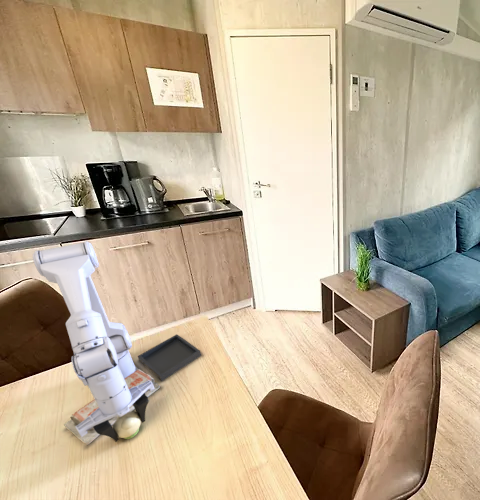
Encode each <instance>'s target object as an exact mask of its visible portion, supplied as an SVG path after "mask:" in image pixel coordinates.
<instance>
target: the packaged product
mask: <svg viewBox="0 0 480 500" xmlns="http://www.w3.org/2000/svg"><path fill="white" fill-rule="evenodd" d="M148 380H150V381H151V382H152V383H153V385H154V388H155V389H154V390H152V391H148V392H146V393H145V395H146V396H147V397H148V398H149V397H150V396H151V395H152V394H154V393H155V392H157V391H158V390H159V389H160V388H161V384H159V383H158V382H157V383H156V382H155V378H153V377H152V375H150V374H148V373H145V372H144V371H143V370H142V369H140V368H138V370H137V371H135V372H134V373H132V374H131V375H129V376H128V377H126V378H125V382H126V384H127V386H128V388H129V389H131V388H133V387H135V386H138V385H140V384H143V383H145V382H146V381H148ZM98 408H99V406H98V405H97V403H96V401H95V399H94V398H93V400H91V401H90V402H88V403H86V404H85V405H84V406H83V407H80V408H79V409H78V410H76V411H74V413H72V414H71V415H70V420H68V421H67V422H65V423H63V426H64V427H65V428H66V430H68V431H69V432H70V433H72V434H73V435H74V436H75V437H76V438H77V440H79V441H80V442H81V443H83V444H85V445H86V446H89V445H90V444H91V443H92V442H93V441H94V440H96V438H98V437H99V436H101V435H100V434H98V433H97V432H96V431H95V429H94V428H91V429H90V430H88V431H87V432H88V433H87V434H86V435H84V436H83V437H81V436H80V434H79V432H78V431H77V429H76V427H75V426H77V425H78V424H80V423H81V422H82V421H84V420H85V419H86V418H87V417H88V416H90V415H91V414H92V413H93V412H94V411H95V410H96V409H98ZM129 409H130V410H129V412H130V411H135V408H134V406H133V404H132V405H131V406H130V407H129ZM117 417H118V416H115V417H113V418H111V419H109V420H108V421H109V423H110V424H111V425H112V426H113V424H114V423H115V421H116V419H117Z"/></svg>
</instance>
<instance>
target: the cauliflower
mask: <svg viewBox="0 0 480 500" xmlns="http://www.w3.org/2000/svg"><path fill="white" fill-rule="evenodd" d="M141 424H142V422H141V419H140V417H139V415H138V413H137V412H136V411H135V410H132V411H130V412H127V413H126V414H125V415H123V416H121V417H119V416H118V417H117V419H116V421H115V423H114V424H113V425H112V427H113V430H114V432H115V434H116V435H117V436H118V438H119V439H124V440H130V439H132V438H134V437H135V436H137V434H139V431H140V427H141Z"/></svg>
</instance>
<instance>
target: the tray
mask: <svg viewBox="0 0 480 500" xmlns="http://www.w3.org/2000/svg"><path fill="white" fill-rule="evenodd" d="M201 356H202V352H201V350H200V349H199V348H197V347H196V346H194V345H193V344H192V343H190V342H188V341H187V340H186V339H184V338H183V337H182V336H180V335H179V334H175V335H173V336H170V337H169V338H167V339H166V340H164V341H162V342H160V343H158V344H157V345H155V346H153V347H151V348H150V349H148V350H145V351H144V352H143V353H140V354H138V355H137V358H138V361H139V362H140V363H141V364H142V365H143V366H144V367H146V369H148V371H150V372H151V373H152V375H154V376H155V377H156V378H157V379H158V380H159V381H160V382H164V381H165V380H166V379H169V377H171V376H172V375H174V374H175V373H177V372H178V371H180V370H182V369H183V368H184V367H186V366H187V365H189V364H191V363H192V362H195V360H197V359H198V358H200V357H201Z"/></svg>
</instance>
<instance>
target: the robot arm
mask: <svg viewBox="0 0 480 500" xmlns="http://www.w3.org/2000/svg"><path fill="white" fill-rule="evenodd" d="M32 261H33V264H34V266H35V268H36V270H37V273H38V274H39V275H40V276H42V277H44V278H45V279H46V280H47V281H48V282H49V283H53V284H57V286H58V288H59V290H60V293H61V296H62V297H63V300H64V302H65V305H66V307H67V309H68V311H69V313H70V316H69V317H68V319H67V320H66V322H65V328H66V330H67V331H66V332H67V334H68V336H69V341H70V344H71V349H72V351H73V355H72V356H71V366H72V369H73V371H74V373H75V375H76V377H77V378H78V379H79V381H81V382H82V384H83V385H84V386H86V387H88V389H89V392H90V394H91V395H92V397H93V400H94V399H95V401H96V403H97V405H98V406H99V408H98V409H96V410H95V411H94V412H93V413H92V414H91V415H90V416H88V417H87V418H86V419H85V420H84V421H82V422H81V423H80V424H78V425H77V426H75V427H76V429H77V431H78V432H79V434H80V436H81V437H83V436H84V435H86V434H87V433H88V432H87V431H88V430H90V429H91V428H94V429H95V431H96V432H97V433H98V434H100V435H99V436H106V437H109V438H110V439H112V440H113V441H114V442H115V443H118V442H119V441H120V437H118V436H117V435H116V434H115V432H114V430H113V425H111V424H110V423H109V421H108V420H109V419H111V418H113V417H115V416H119V417H121V416H123V415H125V414H126V413H127V412H129V410H130V409H129V407H130V406H131V405H132V404H133V406H134V408H135V409H134V411H136V412H137V413H138V415H139V417H140V419H141V424H144V423H145V422H146V410H147V406H148V404H149V396H148V397H147V396H146V395H145V393H146V392H148V391H152V390H154V389H155V388H154V385H153V383H152V382H151V381H150V380H148V381H146V382H145V383H143V384H140V385H138V386H135V387H133V388H131V389H129V388H128V386H127V384H126V382H125V378H126V377H128V376H129V375H131V374H132V373H134V372H135V371H137V370H138V369H139V368H138V367H137V366H136V365H135V363H134V361H133V358H132V356H131V353H130V351H129V350H131V349H132V348H133V344H132V340H131V337H130V334H129V331H128V329H127V328H126V326H125V324H123V323H122V322H113V321H110V320H109V317H108V315H107V313H106V310H105V308H104V306H103V303H102V300H101V298H100V296H99V293H98V291H97V288H96V286H95V283H94V281H93V279H92V274H93V273H95V272H96V269H98V268H99V267H100V262H99V260H98V257H97V254H96V251H95V249H94V246H93V244H92V243H91V242H89V241H87V240H85V241H83V242H79V243H73V244H68V245H67V244H66V245H61V246H57V247H51V248H47V249H46V248H45V249H41V250H40V249H37V250H35V251H34V252H33V253H32Z"/></svg>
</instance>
